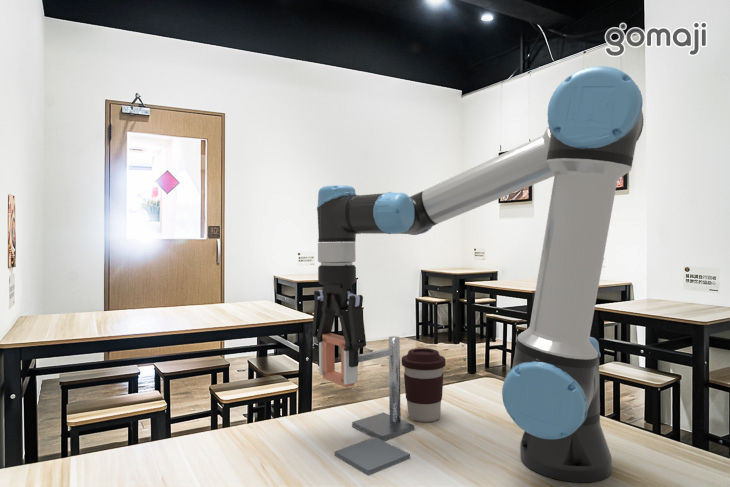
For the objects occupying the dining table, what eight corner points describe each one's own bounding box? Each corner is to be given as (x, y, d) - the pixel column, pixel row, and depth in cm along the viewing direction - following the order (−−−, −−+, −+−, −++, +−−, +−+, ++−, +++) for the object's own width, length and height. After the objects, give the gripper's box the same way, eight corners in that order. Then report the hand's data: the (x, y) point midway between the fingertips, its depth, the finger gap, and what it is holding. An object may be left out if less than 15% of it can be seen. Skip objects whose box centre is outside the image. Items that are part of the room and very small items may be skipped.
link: (353, 385, 93) (353, 339, 93) (345, 387, 92) (345, 340, 92) (330, 376, 99) (330, 333, 99) (322, 378, 98) (322, 334, 98)
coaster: (410, 458, 88) (410, 453, 88) (368, 475, 82) (368, 470, 82) (375, 441, 96) (375, 437, 96) (334, 455, 90) (334, 451, 90)
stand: (415, 429, 101) (414, 340, 101) (362, 448, 93) (361, 350, 93) (384, 416, 109) (383, 333, 109) (333, 432, 100) (332, 342, 100)
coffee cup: (444, 409, 113) (443, 346, 113) (447, 425, 103) (446, 356, 103) (402, 408, 114) (401, 346, 114) (401, 424, 104) (400, 356, 104)
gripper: (385, 265, 89) (386, 386, 89) (324, 261, 106) (324, 364, 106) (353, 266, 85) (354, 394, 85) (294, 263, 101) (295, 370, 101)
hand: (337, 377), depth 95 cm, fingers closed on link, 8 cm apart
